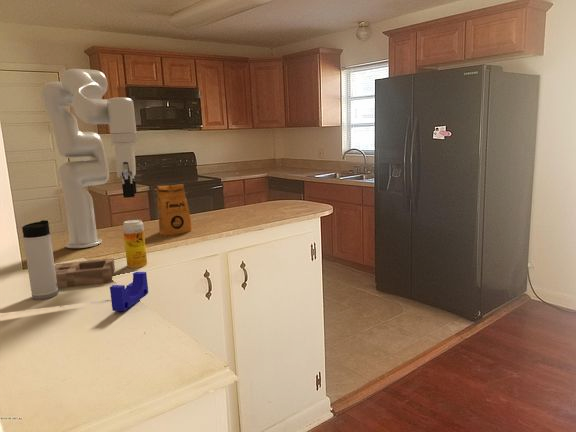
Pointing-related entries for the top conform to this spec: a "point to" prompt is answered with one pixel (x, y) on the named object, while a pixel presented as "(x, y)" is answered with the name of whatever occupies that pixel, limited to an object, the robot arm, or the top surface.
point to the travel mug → (40, 260)
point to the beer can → (134, 243)
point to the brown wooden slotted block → (84, 272)
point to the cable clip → (129, 292)
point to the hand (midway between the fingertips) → (130, 195)
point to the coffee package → (173, 210)
